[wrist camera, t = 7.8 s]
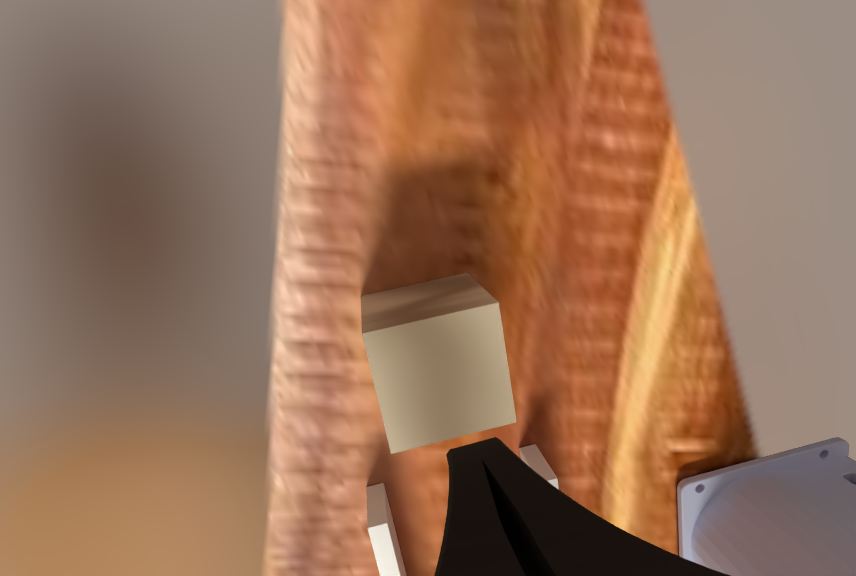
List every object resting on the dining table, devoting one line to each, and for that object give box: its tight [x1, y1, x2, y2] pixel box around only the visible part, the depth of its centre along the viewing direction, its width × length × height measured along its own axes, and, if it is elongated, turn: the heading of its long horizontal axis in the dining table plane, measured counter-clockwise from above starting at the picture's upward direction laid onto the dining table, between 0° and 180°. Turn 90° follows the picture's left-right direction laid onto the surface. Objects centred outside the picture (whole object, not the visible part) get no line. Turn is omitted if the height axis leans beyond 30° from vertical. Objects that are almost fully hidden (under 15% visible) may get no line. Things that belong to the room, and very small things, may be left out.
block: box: [361, 273, 516, 454], centre depth 18 cm, size 4×4×4 cm
